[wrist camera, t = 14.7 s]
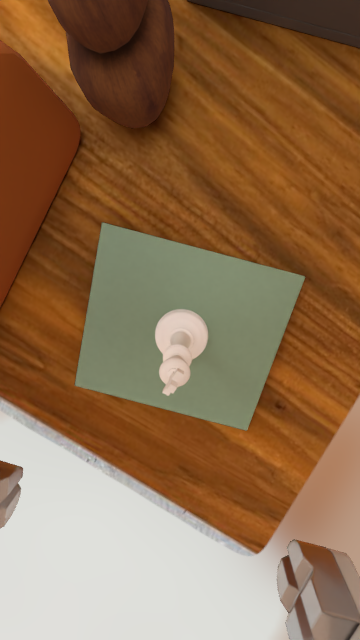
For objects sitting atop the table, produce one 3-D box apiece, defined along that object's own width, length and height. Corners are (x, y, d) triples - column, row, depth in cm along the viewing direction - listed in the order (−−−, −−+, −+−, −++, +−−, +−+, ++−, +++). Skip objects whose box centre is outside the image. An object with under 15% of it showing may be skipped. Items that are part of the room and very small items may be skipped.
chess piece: (145, 342, 25) (113, 399, 15) (172, 298, 24) (156, 331, 14) (189, 368, 25) (185, 440, 16) (218, 327, 24) (233, 377, 15)
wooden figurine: (163, 152, 21) (93, -55, 7) (94, 130, 21) (-122, -124, 7) (187, 52, 20) (161, -502, 5) (112, 29, 20) (-126, -601, 5)
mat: (303, 275, 23) (305, 276, 23) (245, 427, 27) (247, 431, 27) (104, 222, 23) (101, 222, 23) (76, 382, 27) (74, 385, 27)
